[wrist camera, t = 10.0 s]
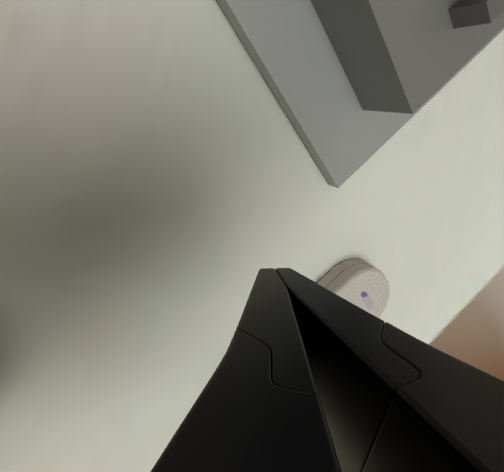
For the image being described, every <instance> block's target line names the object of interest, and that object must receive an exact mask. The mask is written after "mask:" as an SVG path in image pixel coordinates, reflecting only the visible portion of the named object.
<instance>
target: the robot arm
mask: <svg viewBox="0 0 504 472" xmlns="http://www.w3.org/2000/svg"><path fill="white" fill-rule="evenodd" d="M151 472H504V381H503V380H501V379H498V378H497V377H495V376H492V375H491V374H488V373H486V372H484V371H482V370H480V369H478V368H476V367H474V366H472V365H470V364H467V363H465V362H463V361H461V360H459V359H457V358H455V357H453V356H451V355H449V354H447V353H444V352H442V351H440V350H438V349H436V348H434V347H432V346H430V345H428V344H426V343H424V342H422V341H420V340H418V339H416V338H415V337H413V336H411V335H409V334H407V333H405V332H403V331H402V330H400V329H398V328H396V327H394V326H393V325H391V324H389V323H387V322H386V323H384V321H383V320H381V319H379V318H377V317H376V316H374V315H372V314H370V313H369V312H367V311H365V310H363V309H362V308H360V307H358V306H356V305H354V304H353V303H351V302H349V301H347V300H346V299H344V298H342V297H340V296H338V295H337V294H335V293H333V292H331V291H330V290H328V289H326V288H324V287H323V286H321V285H319V284H317V283H315V282H314V281H312V280H310V279H308V278H307V277H305V276H303V275H301V274H299V273H298V272H296V271H294V270H292V269H291V268H277V269H273V268H266V269H260V270H259V272H258V275H257V277H256V280H255V282H254V285H253V288H252V290H251V293H250V295H249V298H248V301H247V303H246V306H245V308H244V311H243V314H242V316H241V319H240V321H239V324H238V327H237V329H236V331H235V333H234V336H233V339H232V341H231V343H230V345H229V347H228V350H227V352H226V354H225V355H224V357H223V359H222V361H221V362H220V364H219V366H218V368H217V369H216V371H215V372H214V374H213V375H212V377H211V378H210V380H209V382H208V383H207V385H206V386H205V388H204V389H203V391H202V392H201V394H200V396H199V397H198V399H197V400H196V402H195V403H194V405H193V406H192V408H191V410H190V411H189V413H188V414H187V416H186V417H185V419H184V420H183V422H182V424H181V425H180V427H179V428H178V430H177V431H176V433H175V434H174V436H173V438H172V439H171V441H170V442H169V444H168V445H167V447H166V449H165V450H164V452H163V453H162V455H161V456H160V458H159V459H158V461H157V463H156V464H155V466H154V467H153V469H152V470H151Z"/></svg>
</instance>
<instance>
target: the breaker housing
mask: <svg viewBox="0 0 504 472" xmlns="http://www.w3.org/2000/svg"><path fill="white" fill-rule="evenodd" d="M216 1H217V3H218V4H219V6H220V7H221V9H222V11H223V12H224V14H225V16H226V17H227V19H228V21H229V22H230V24H231V25H232V27H233V29H234V30H235V32H236V34H237V35H238V37H239V38H240V40H241V42H242V43H243V45H244V47H245V48H246V50H247V52H248V53H249V55H250V56H251V58H252V60H253V61H254V63H255V65H256V66H257V68H258V69H259V71H260V73H261V74H262V76H263V78H264V79H265V81H266V83H267V84H268V86H269V87H270V89H271V91H272V92H273V94H274V96H275V97H276V99H277V100H278V102H279V104H280V105H281V107H282V109H283V110H284V112H285V114H286V115H287V117H288V118H289V120H290V122H291V123H292V125H293V127H294V128H295V130H296V131H297V133H298V135H299V136H300V138H301V140H302V141H303V143H304V144H305V146H306V148H307V149H308V151H309V153H310V154H311V156H312V158H313V159H314V161H315V162H316V164H317V166H318V167H319V169H320V171H321V172H322V174H323V175H324V177H325V179H326V180H327V182H328V184H329V185H331V186H334V187H337V188H339V187H340V186H341V185H342V184H343V183H344V182H345V181H346V180H347V179H348V178H349V177H350V176H351V175H352V174H353V173H354V172H355V171H356V170H358V169H359V168H360V167H361V166H362V165H363V164H364V163H365V162H366V161H367V160H368V159H369V158H370V157H371V156H372V155H373V154H374V153H375V152H376V151H377V150H378V149H379V148H380V147H382V146H383V145H384V144H385V143H386V142H387V141H388V140H389V139H390V138H391V137H392V136H393V135H394V134H395V133H396V132H397V131H398V130H399V129H400V128H401V127H402V126H403V125H404V124H406V123H407V122H408V121H409V120H410V119H411V118H412V117H413V116H414V115H415V114H416V113H417V112H418V111H419V110H420V109H421V108H422V107H423V106H424V105H425V104H426V103H427V102H428V101H430V100H431V99H432V98H433V97H434V96H435V95H436V94H437V93H438V92H439V91H440V90H441V89H442V88H443V87H444V86H445V85H446V84H447V83H448V82H449V81H450V80H451V79H452V78H454V77H455V76H456V75H457V74H458V73H459V72H460V71H461V70H462V69H463V68H464V67H465V66H466V65H467V64H468V63H469V62H470V61H471V60H472V59H473V58H474V57H475V56H476V55H477V54H479V53H480V52H481V51H482V50H483V49H484V48H485V47H486V46H487V45H488V44H489V43H490V42H491V41H492V40H493V39H494V38H495V37H496V36H497V35H498V34H499V33H500V32H501V31H503V30H504V0H216Z"/></svg>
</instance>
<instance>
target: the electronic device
mask: <svg viewBox="0 0 504 472" xmlns="http://www.w3.org/2000/svg"><path fill="white" fill-rule="evenodd" d="M317 284H319V285H321V286H323V287H324V288H326V289H328V290H330V291H331V292H333V293H335V294H337V295H338V296H340V297H342V298H344V299H346V300H347V301H349V302H351V303H353V304H354V305H356V306H358V307H360V308H362V309H363V310H365V311H367V312H369V313H370V314H372V315H374V316H376V317H377V318H379V317H380V316H381V314H382V312H383V311H384V309H385V307H386V305H387V302H388V298H389V284H388V281H387V279H386V277H385V275H384V274H383V273H382V272H381V271H380V270H378V269H377V268H375V267H373V266H372V265H369V264H367V263H365V262H363V261H362V260H359V259H350V260H346V261H343V262H341V263H339V264H338V265H336V266H335V267H334V268H332V269H331V270H330V271H329V272H328V273H327V274H326V275H325V276H324V277H322V278H321V279H320V280H319V281H318V282H317Z"/></svg>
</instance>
